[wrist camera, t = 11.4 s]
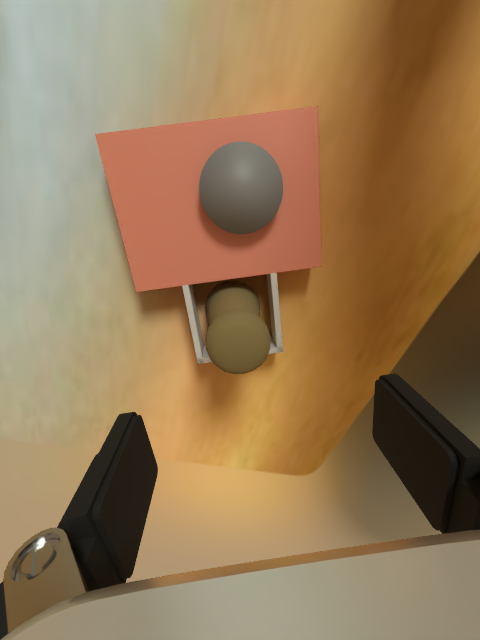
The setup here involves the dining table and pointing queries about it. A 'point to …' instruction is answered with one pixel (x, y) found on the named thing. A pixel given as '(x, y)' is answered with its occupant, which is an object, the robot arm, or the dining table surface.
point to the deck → (217, 203)
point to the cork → (236, 328)
